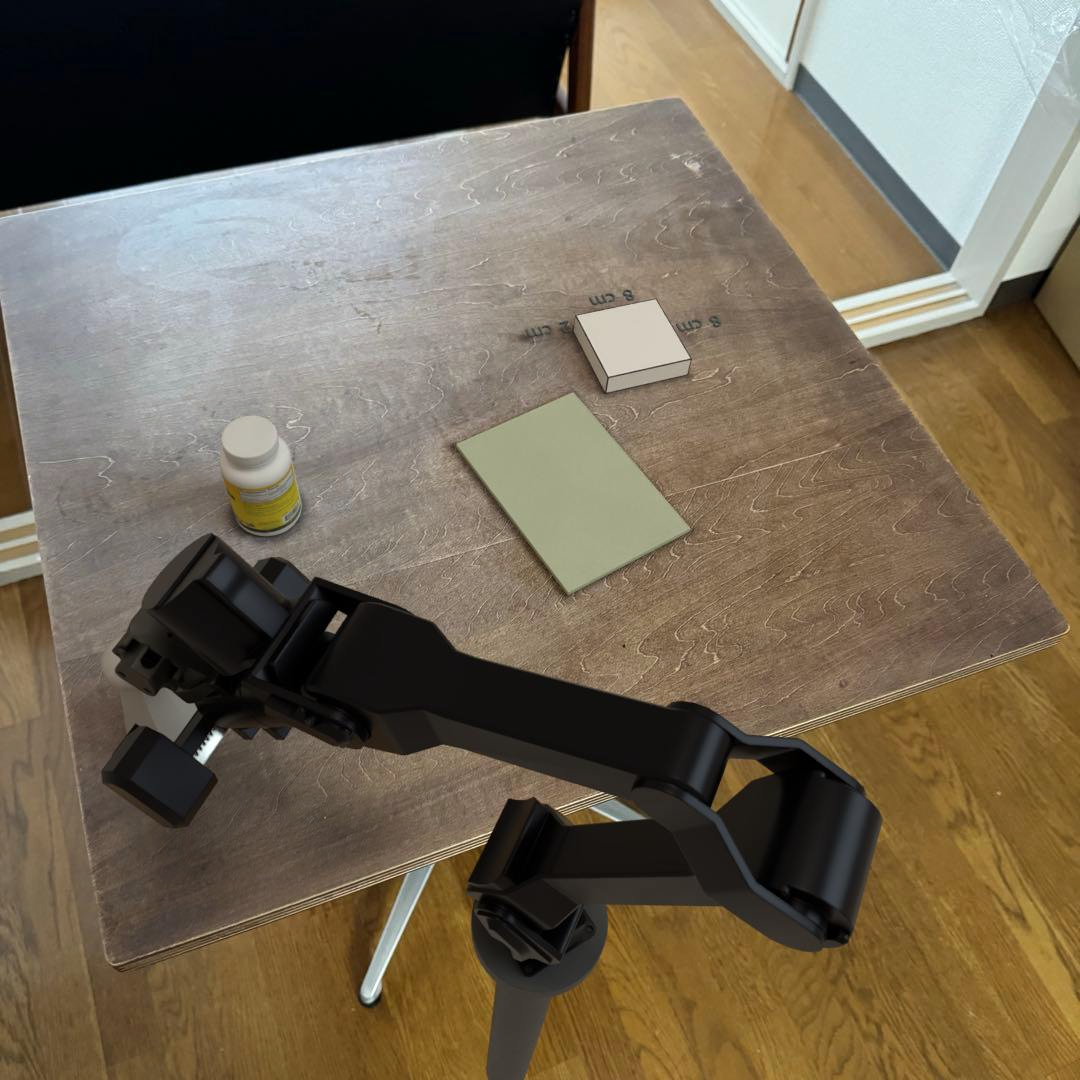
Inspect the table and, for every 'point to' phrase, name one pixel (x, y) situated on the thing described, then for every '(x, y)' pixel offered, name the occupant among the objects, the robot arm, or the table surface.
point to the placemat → (572, 491)
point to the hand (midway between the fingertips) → (171, 689)
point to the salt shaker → (147, 702)
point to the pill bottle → (259, 476)
